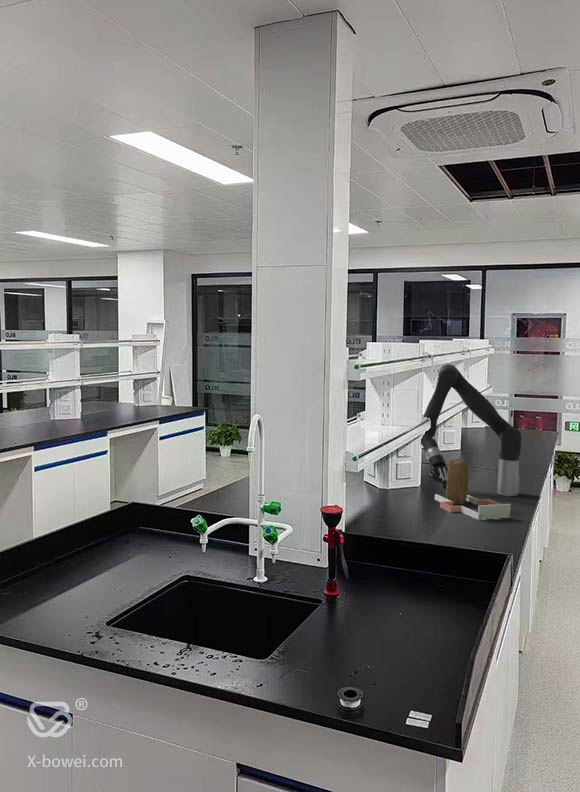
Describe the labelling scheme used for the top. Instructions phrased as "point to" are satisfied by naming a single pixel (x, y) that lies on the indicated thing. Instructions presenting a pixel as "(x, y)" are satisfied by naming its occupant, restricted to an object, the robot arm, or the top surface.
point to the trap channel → (485, 508)
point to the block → (457, 481)
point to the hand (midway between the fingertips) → (447, 488)
